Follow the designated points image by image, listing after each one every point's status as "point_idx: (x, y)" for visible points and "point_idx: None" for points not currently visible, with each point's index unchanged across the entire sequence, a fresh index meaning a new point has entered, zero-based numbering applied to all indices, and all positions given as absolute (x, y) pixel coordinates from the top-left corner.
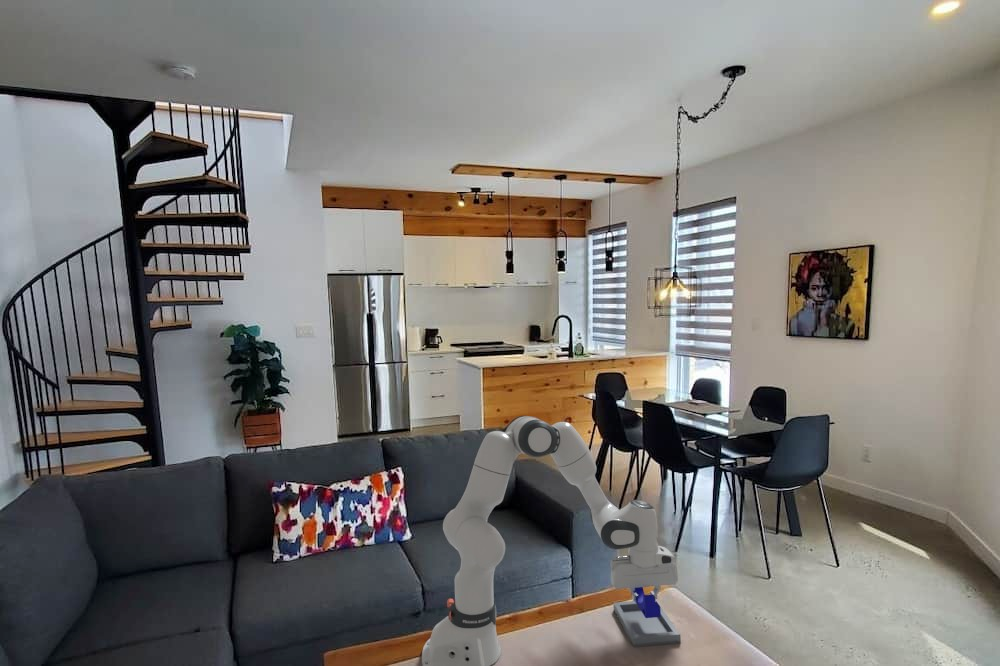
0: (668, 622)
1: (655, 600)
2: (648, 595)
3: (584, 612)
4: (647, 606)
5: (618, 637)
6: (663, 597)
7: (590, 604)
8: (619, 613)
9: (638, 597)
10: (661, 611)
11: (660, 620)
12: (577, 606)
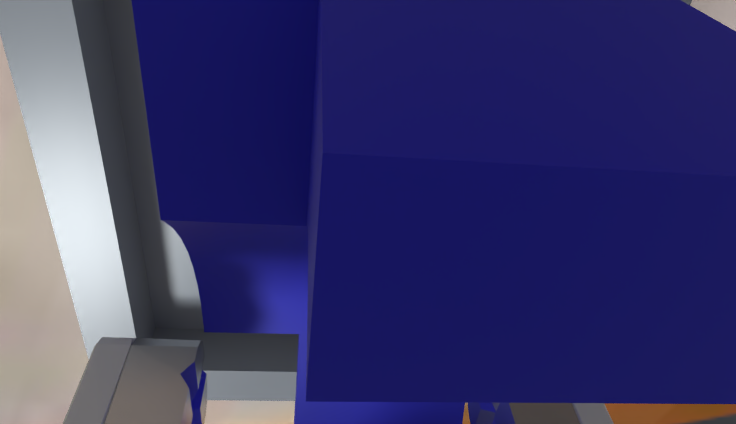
0: (49, 20)
1: None
2: (619, 355)
3: None
4: (628, 3)
5: (732, 2)
6: (14, 419)
7: (617, 414)
8: None
9: (423, 408)
10: (88, 239)
11: (141, 151)
12: (717, 408)
